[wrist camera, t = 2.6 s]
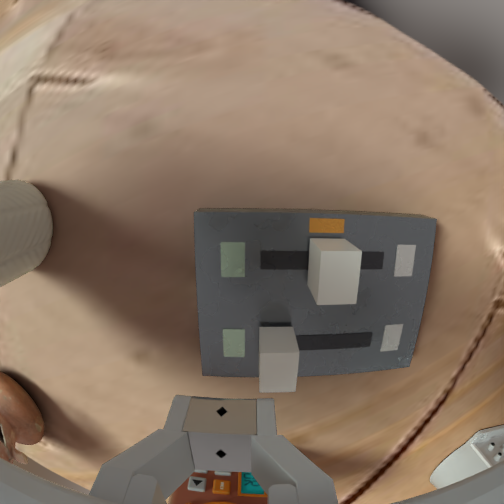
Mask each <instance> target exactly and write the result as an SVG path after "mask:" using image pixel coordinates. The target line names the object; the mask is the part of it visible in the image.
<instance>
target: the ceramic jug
mask: <svg viewBox="0 0 504 504" xmlns="http://www.w3.org/2000/svg"><path fill="white" fill-rule="evenodd" d="M43 434H44V421H43V418H42V415H41V413H40V411H39V409H38V407H37V406H36V404H35V402H34V401H33V400H32V398H31V397H30V396H29V395H28V393H27V392H26V391H25V390H24V389H23V388H22V387H21V386H20V385H19V384H18V383H17V382H16V381H14V380H13V379H12V378H11V377H9V376H8V375H6V374H4V373H2V372H0V458H2V459H4V460H6V461H8V462H9V463H11V464H13V459H15V460H16V461H17V462H20V463H23V464H27V463H28V460H27V456H26V455H25V454H24V453H22V452H19V451H17V450H16V449H15V442H17V443H20V444H24V445H33V444H36V443H38V442H39V441H40V440H41V439H42V437H43Z"/></svg>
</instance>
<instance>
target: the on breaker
mask: <svg viewBox="0 0 504 504" xmlns="http://www.w3.org/2000/svg"><path fill="white" fill-rule="evenodd" d="M299 353H300V352H299V348H298V344H297V340H296V336H295V332H294V328H293V327H259V392H296V383H297V374H298V364H299Z"/></svg>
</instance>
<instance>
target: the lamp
mask: <svg viewBox="0 0 504 504" xmlns="http://www.w3.org/2000/svg"><path fill="white" fill-rule="evenodd" d="M52 235H53V222H52V217H51V211H50V209H49V208H48V206H47V201H46V200H45V198H44V196H43V194H42V193H41V192H40V191H39V190H38V189H37V188H36V187H35V186H33V185H32V184H30V183H26V182H25V181H21V180H8V181H0V287H2V286H4V285H6V284H7V283H9V282H11V281H13V280H15V279H17V278H19V277H21V276H22V275H24V274H26V273H28V272H30V271H32V270H33V269H34V268H35V267H37V266H39V265H40V263H41V262H42V261H43V260H44V259H45V256H46V254H47V253H48V251H49V247H50V245H51V237H52Z"/></svg>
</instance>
